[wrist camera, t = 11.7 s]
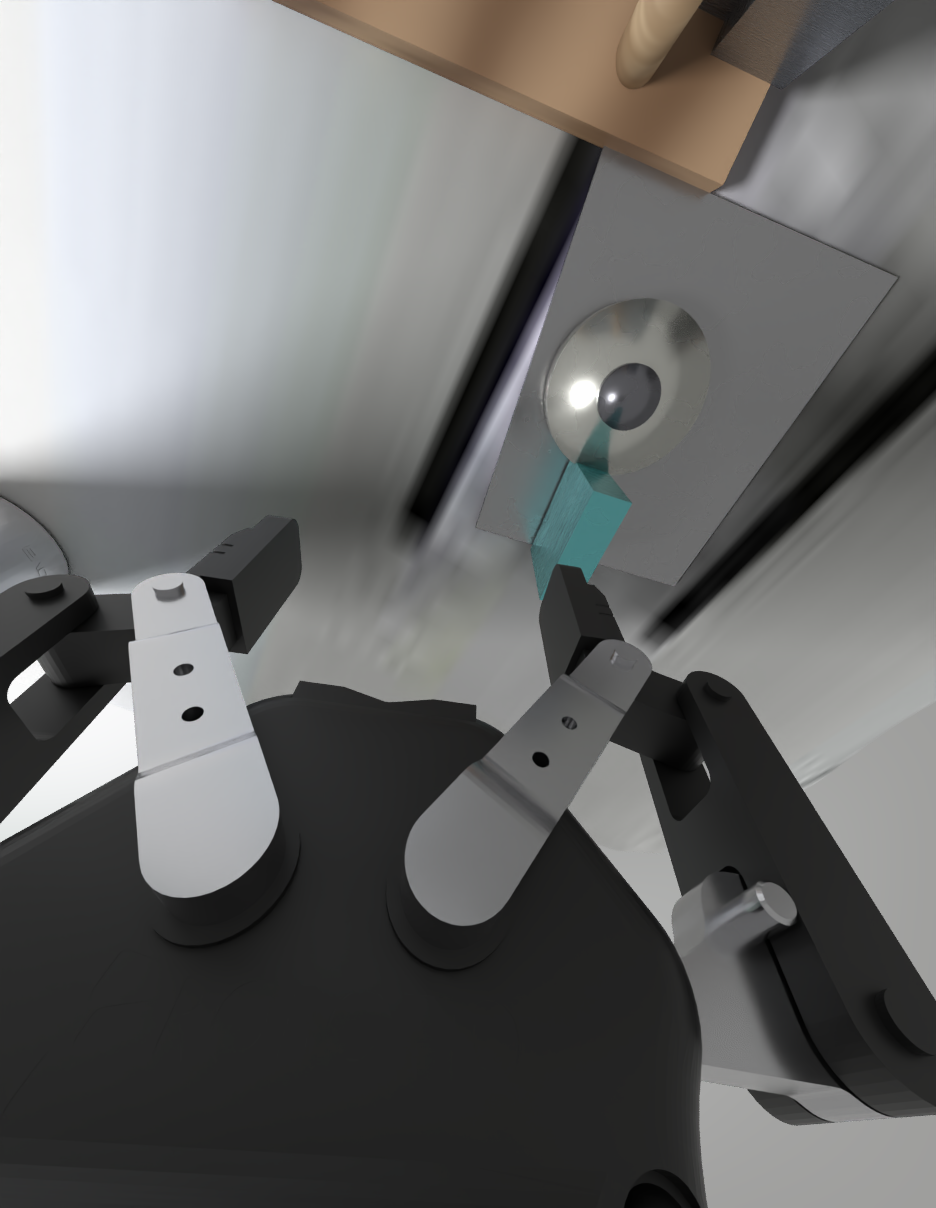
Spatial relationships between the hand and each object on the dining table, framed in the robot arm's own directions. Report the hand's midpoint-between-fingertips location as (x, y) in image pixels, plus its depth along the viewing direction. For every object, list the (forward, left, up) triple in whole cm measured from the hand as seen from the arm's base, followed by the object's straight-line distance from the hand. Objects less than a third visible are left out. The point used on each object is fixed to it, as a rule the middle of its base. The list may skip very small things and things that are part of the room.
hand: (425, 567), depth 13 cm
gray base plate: (+10, +5, -14) cm, 18 cm away
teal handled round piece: (+8, +2, -14) cm, 16 cm away
